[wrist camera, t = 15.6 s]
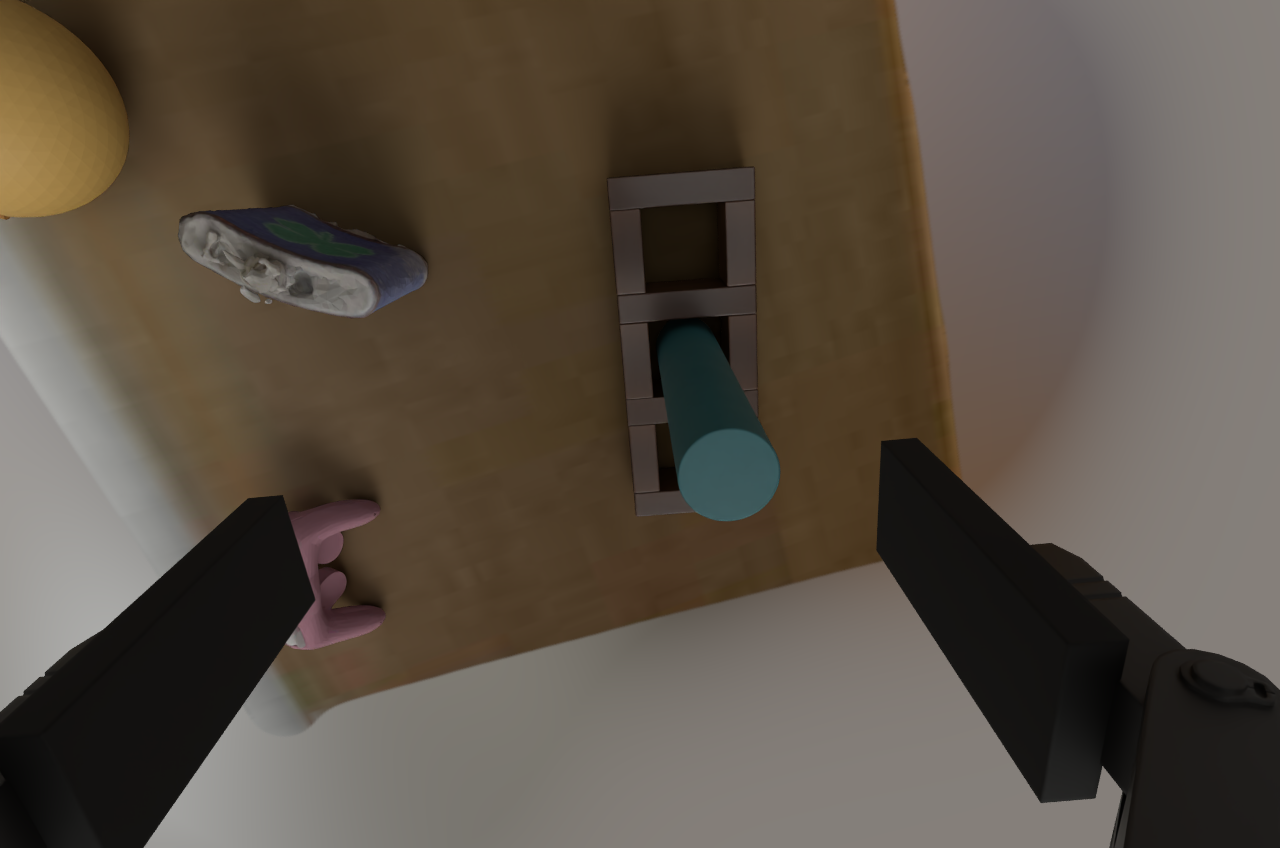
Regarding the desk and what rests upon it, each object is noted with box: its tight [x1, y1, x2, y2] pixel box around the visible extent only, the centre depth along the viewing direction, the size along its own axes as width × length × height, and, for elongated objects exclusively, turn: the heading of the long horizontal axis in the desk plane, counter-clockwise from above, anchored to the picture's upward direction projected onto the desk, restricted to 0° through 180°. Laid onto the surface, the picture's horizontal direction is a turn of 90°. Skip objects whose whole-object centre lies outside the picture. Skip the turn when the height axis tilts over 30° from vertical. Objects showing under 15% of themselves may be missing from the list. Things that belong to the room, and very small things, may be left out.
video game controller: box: [285, 499, 386, 649], centre depth 44 cm, size 10×5×7 cm, turn 175°
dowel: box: [656, 318, 780, 521], centre depth 33 cm, size 4×4×19 cm
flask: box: [178, 205, 428, 318], centre depth 34 cm, size 9×3×11 cm, turn 69°
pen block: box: [607, 167, 758, 516], centre depth 40 cm, size 20×8×4 cm, turn 4°
